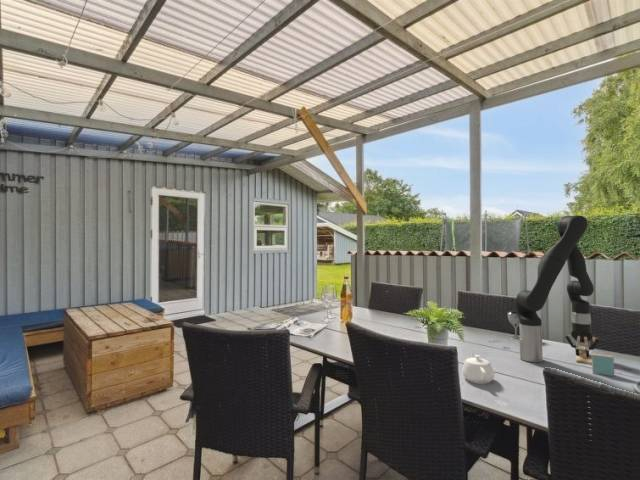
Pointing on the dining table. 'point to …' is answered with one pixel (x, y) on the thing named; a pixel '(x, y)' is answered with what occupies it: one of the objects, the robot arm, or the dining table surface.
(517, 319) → the wine glass
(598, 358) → the tile
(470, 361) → the teapot
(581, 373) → the dining table surface
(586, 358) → the turner
